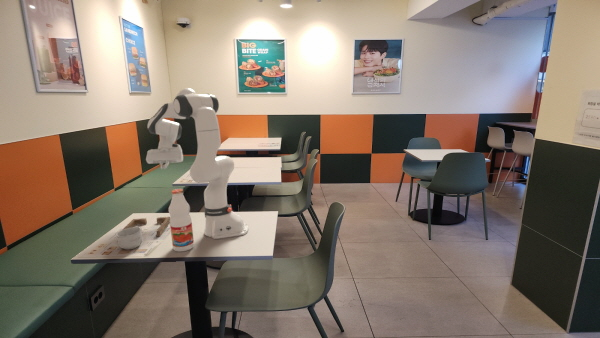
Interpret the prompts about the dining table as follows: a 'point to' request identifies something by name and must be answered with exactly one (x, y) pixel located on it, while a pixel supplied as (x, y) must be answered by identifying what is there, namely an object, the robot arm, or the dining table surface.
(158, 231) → the wooden l-brackets
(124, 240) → the teacup
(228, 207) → the robot arm
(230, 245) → the dining table surface
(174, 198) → the fruit juice
